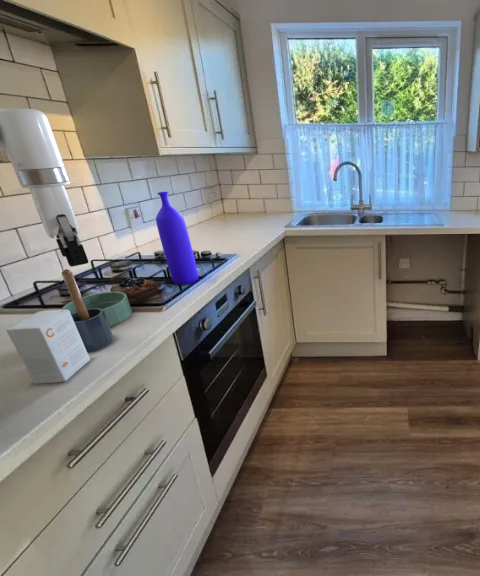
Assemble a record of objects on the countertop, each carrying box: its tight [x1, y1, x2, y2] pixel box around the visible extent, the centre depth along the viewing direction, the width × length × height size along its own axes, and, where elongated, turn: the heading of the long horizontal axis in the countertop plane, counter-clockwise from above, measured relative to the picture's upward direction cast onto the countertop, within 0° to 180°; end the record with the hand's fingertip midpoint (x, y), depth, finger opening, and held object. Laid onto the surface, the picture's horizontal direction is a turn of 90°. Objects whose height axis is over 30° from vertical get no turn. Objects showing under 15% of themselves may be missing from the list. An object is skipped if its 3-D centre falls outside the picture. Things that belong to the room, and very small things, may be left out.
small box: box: [6, 309, 91, 385], centre depth 75 cm, size 8×6×13 cm
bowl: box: [60, 291, 133, 327], centre depth 98 cm, size 14×14×6 cm
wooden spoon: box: [61, 268, 90, 321], centre depth 84 cm, size 2×3×19 cm, turn 6°
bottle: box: [155, 191, 199, 286], centre depth 119 cm, size 8×8×30 cm
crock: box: [71, 308, 115, 353], centre depth 86 cm, size 7×7×8 cm
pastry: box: [109, 276, 160, 305], centre depth 113 cm, size 11×12×6 cm
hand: (75, 259), depth 78 cm, fingers open, 9 cm apart
